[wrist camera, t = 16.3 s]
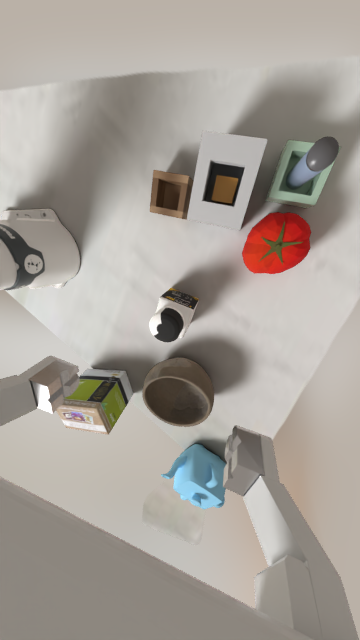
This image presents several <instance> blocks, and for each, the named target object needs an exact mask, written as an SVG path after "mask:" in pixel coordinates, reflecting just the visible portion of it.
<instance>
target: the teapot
mask: <svg viewBox="0 0 360 640" xmlns="http://www.w3.org/2000/svg"><path fill="white" fill-rule="evenodd" d="M225 466H226V463H225V462H224V461H222V460H221V459H220V457H219V456H218V455H214V454H213V453H211V452H210V451H208V450H207V449H205V447H204V446H203V445H200V444H199V445H198V444H194V445H192V446H191V447H189V448H188V449H186V450H185V451H184V452H183V453H182V454H181V455H180V457H178V458H177V459H176V460H175V462H174V464H173V465H172V468H171V470H170V471H169V472H168V473H167V474H162V475H161V476H163V477H164V478H167V479H171V478H172V477H173V476H174V475H175V478H174V490H175V491H176V492H178V493H179V494H180V497H181V499H183V500H187V499H188V500H189V501H191V503H192V504H193V505H195V506H199V507H200V508H202V509H207V508H210V507H213V506H214V507H216V508H220V507H222V506H223V504H224V494H225V489H226V488H224V487H223V476H224V468H225Z"/></svg>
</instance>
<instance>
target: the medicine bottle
mask: <svg viewBox="0 0 360 640" xmlns="http://www.w3.org/2000/svg"><path fill="white" fill-rule="evenodd" d="M198 302H199V299H198V298H196V297H193V296H191V295H188V294H185V293H183V292H180V291H178V290H175V289H173V288H170V289H169V290H168V291H167V292H166V293H164V294H163V295H162V296H161V297H160V299H159V302H158V306H157V310H156V314H155V315H154V316H153V317H152V318H151V320H150V323H149V327H150V331H151V333H152V334H153V335H154V336H155V337H156V338H157V339H158V340H160V341H163V342H171V341H174V340H176V339H177V338H178V337H180V338H183V337H184V335H185V333H186V331H187V329H188V327H189V325H190V323H191V320H192V318H193V315H194V312H195V310H196V307H197V304H198Z"/></svg>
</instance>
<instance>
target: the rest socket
mask: <svg viewBox="0 0 360 640" xmlns="http://www.w3.org/2000/svg"><path fill="white" fill-rule="evenodd" d="M314 144H315V143H309V142H302V141H294V140H288V141H287V143H286V145H285V147H284V149H283V150H282V153H281V156H280V159H279V162H278V165H277V168H276V171H275V174H274V177H273V180H272V183H271V186H270V189H269V192H268V195H267V198H266V200H265V201H270V202H276V203H281V204H287V205H292V206H298V207H303V208H308V207H311V206H314V205H315V204H316V202H317V200H318V197H319V195H320V193H321V191H322V189H323V186H324V184H325V182H326V180H327V177H328V175H329V173H330V171H331V168H332V166H333V164H334V162H335V160H336V159H335V160H334V162H333V163H332V164H331V165H330V166H328V167H327V168H326V169H324V170H323V171H321V172H320V173H319V174H317V175H316V176H315V177H313V178H312V179H310V180H309V181H308V182H306V183H305V184H303V185H302V186H301V187H299V188H297V189H290V188H288V187H287V185H286V177H287V175H288V173H289V172H290V171H291V170H292V169H293V168H294V166H295V165H296V164H297V163H298V162H299V161H300V160H301V158H302V157H303V156H304V155H305V154H306V153H307V152H308V151H309V149H310V148H311V147H312V146H313V145H314ZM340 148H341V147H340V146H339V151H340ZM339 151H338V153H339Z"/></svg>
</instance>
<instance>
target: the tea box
mask: <svg viewBox="0 0 360 640" xmlns="http://www.w3.org/2000/svg"><path fill="white" fill-rule="evenodd" d="M79 379H80V382H79V386H78V387H77V389H76V391H75V392H74V393H73V394H72V395H71V396H68V397H65V399H64V403H63V404H62V405H61V406H60V407H59V408H58V409H57V410H56V411H57V412H58V414H59V416H60V418H61V419H62V421H63V423H64V424H65V426H66V428H71V429H78V430H84V431H89V432H96V433H103V434H109V433H110V431H111V430H112V428H113V426H114V425H115V423H116V422H117V420H118V418H119V417H120V415H121V413H122V412H123V410H124V408H125V407H126V405H127V404H128V402H129V400H130V399H131V397H132V395H133V391H132V388H131V385H130V382H129V379H128V376H127V373H126V371H119V370H100V369H87V370H86V371H85V372H84V373H83V374H82V375H81V376H80V377H79Z"/></svg>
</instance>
